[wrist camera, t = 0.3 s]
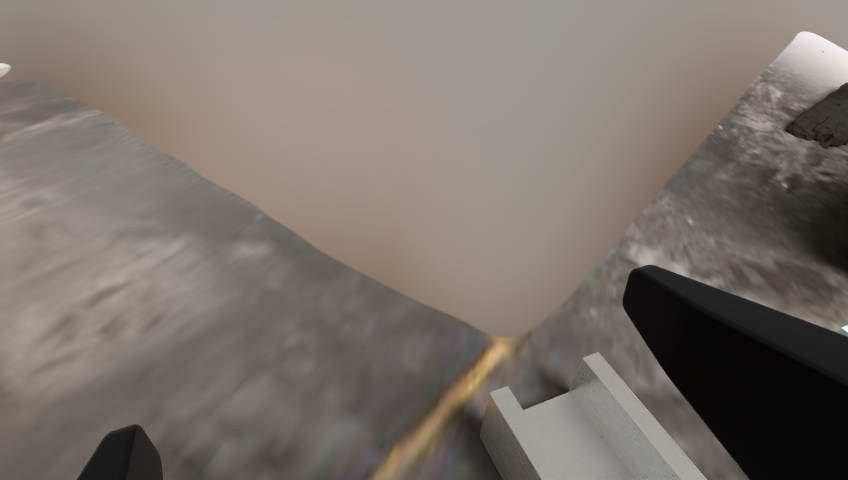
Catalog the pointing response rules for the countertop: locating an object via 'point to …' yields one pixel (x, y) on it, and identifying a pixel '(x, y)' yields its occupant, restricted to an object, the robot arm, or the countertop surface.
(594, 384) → the floor track
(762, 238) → the countertop surface
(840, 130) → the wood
